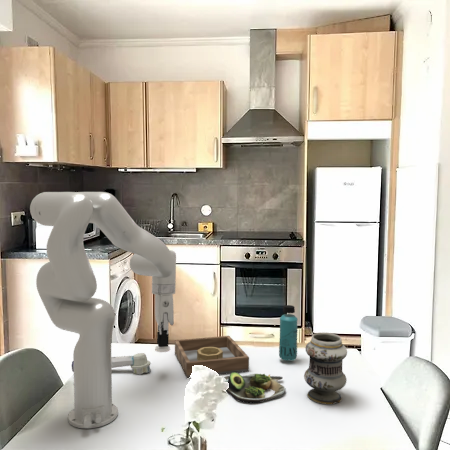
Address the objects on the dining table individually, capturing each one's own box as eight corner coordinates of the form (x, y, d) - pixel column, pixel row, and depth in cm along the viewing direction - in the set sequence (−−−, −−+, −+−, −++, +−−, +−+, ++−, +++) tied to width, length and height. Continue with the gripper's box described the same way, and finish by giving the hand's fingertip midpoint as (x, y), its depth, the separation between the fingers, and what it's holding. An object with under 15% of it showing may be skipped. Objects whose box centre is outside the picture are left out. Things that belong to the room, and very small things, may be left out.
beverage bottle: (277, 363, 152) (278, 307, 151) (280, 356, 159) (281, 303, 157) (295, 365, 150) (296, 308, 149) (298, 359, 157) (299, 304, 155)
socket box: (248, 371, 145) (248, 357, 145) (186, 378, 139) (186, 363, 139) (228, 348, 167) (229, 335, 167) (174, 353, 161) (174, 340, 161)
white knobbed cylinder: (75, 357, 147) (149, 347, 147) (78, 376, 148) (152, 367, 147) (69, 363, 142) (146, 353, 141) (73, 383, 142) (149, 373, 142)
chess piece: (163, 346, 144) (163, 316, 144) (173, 349, 141) (174, 319, 141) (151, 349, 140) (152, 319, 140) (162, 353, 137) (162, 322, 137)
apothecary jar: (325, 410, 119) (326, 346, 118) (295, 393, 129) (296, 334, 128) (354, 399, 126) (356, 338, 124) (324, 384, 136) (325, 327, 134)
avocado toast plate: (268, 373, 145) (269, 359, 145) (300, 395, 129) (300, 380, 129) (216, 383, 137) (216, 369, 136) (242, 408, 121) (243, 392, 120)
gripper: (179, 292, 133) (178, 352, 134) (171, 284, 149) (170, 337, 149) (155, 293, 131) (154, 353, 132) (149, 284, 147) (148, 338, 147)
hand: (162, 344), depth 141 cm, fingers closed on chess piece
